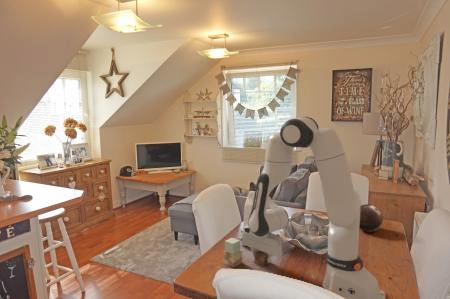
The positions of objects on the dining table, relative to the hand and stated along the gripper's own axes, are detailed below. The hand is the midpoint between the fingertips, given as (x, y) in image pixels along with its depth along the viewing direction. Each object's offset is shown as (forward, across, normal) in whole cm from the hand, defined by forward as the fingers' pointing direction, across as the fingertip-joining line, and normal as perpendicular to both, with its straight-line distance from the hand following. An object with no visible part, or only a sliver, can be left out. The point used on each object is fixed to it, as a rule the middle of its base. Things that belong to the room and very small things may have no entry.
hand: (261, 259), depth 148 cm
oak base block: (+2, +10, +9) cm, 13 cm away
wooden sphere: (+2, -24, -68) cm, 72 cm away
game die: (+2, +17, -10) cm, 20 cm away
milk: (+2, +19, -20) cm, 28 cm away
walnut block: (+2, 0, 0) cm, 2 cm away
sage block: (-4, +10, +9) cm, 14 cm away
